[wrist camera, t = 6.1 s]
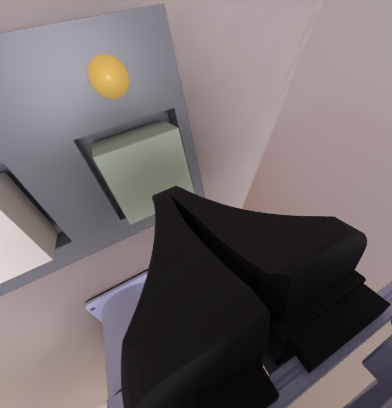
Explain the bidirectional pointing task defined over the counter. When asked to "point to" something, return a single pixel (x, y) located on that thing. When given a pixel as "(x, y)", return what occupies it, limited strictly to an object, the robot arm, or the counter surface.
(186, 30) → the counter surface
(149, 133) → the sage key
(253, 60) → the counter surface
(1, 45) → the keypad
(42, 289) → the counter surface
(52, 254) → the cream key
